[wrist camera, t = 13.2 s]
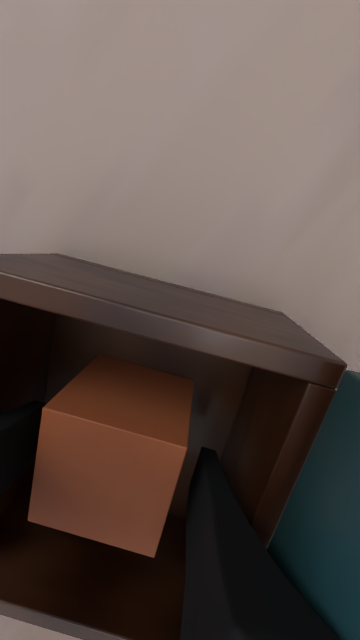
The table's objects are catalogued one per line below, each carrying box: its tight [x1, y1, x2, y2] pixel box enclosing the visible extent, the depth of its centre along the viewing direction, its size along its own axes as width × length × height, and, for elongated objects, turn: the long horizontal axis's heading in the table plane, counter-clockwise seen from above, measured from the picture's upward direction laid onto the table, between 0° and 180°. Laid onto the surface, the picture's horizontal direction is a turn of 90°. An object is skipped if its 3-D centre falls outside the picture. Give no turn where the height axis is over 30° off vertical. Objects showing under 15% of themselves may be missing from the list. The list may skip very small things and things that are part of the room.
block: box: [27, 355, 194, 558], centre depth 12 cm, size 5×5×5 cm
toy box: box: [0, 254, 347, 640], centre depth 12 cm, size 12×14×6 cm
